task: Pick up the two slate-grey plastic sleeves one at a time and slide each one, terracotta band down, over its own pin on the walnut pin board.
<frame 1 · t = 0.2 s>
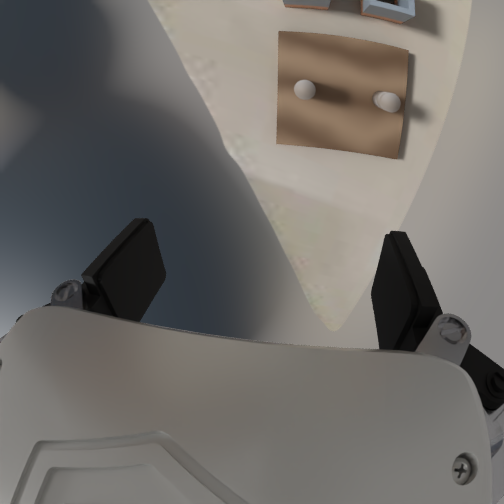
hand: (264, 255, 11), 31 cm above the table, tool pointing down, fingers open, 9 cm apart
pin board: (342, 92, 31), on the table
sleeve b: (380, 2, 22), on the table
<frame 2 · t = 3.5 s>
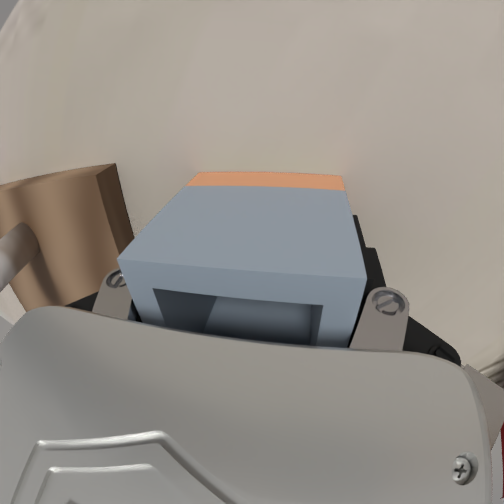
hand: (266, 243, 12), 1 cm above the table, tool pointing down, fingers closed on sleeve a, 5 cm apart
pin board: (67, 284, 18), on the table
sleeve a: (269, 234, 12), on the table, touching gripper
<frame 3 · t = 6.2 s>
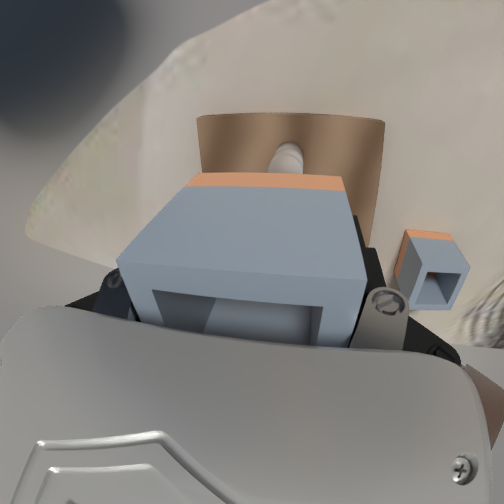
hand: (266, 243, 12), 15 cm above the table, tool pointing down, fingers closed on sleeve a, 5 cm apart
pin board: (290, 200, 27), on the table
sleeve a: (269, 235, 12), point 15 cm above the table, touching gripper
sleeve b: (421, 253, 27), on the table
when the fingers open (4 cm above the table, at t = 9.3 s): sleeve a drops 1 cm, resting on pin board.
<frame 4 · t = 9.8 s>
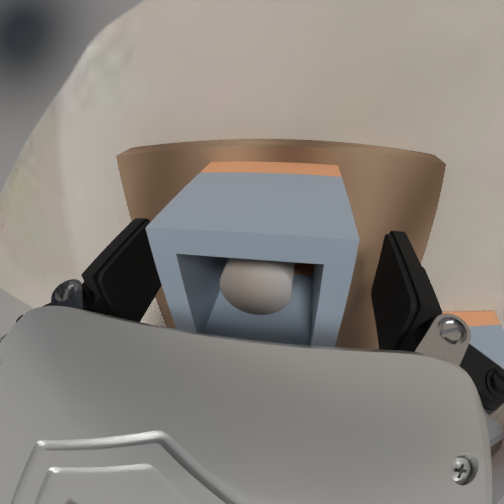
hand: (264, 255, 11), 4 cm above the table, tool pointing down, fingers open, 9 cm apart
pin board: (276, 279, 17), on the table
sleeve a: (273, 218, 13), point 1 cm above the table, touching pin board
sleeve b: (455, 335, 18), on the table
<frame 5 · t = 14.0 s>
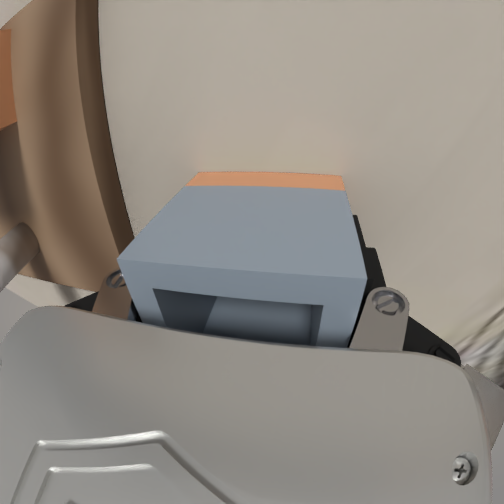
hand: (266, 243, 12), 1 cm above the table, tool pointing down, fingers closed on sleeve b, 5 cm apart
pin board: (20, 157, 12), on the table
sleeve b: (269, 234, 12), on the table, touching gripper
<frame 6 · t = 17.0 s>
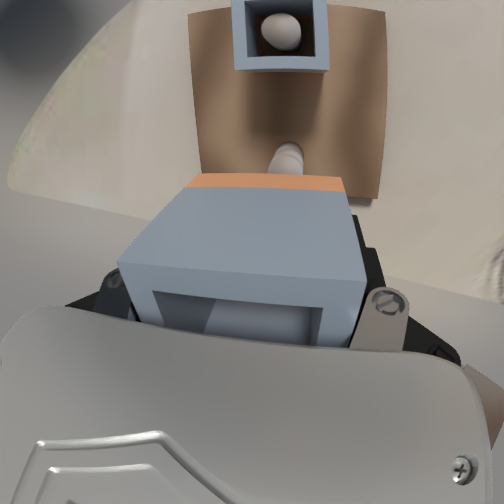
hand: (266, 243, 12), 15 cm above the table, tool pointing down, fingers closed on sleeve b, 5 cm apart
pin board: (290, 96, 21), on the table
sleeve a: (286, 40, 17), point 1 cm above the table, touching pin board
sleeve b: (269, 235, 12), point 15 cm above the table, touching gripper
when the fingers open (4 cm above the table, at t = 20.0 s): sleeve b drops 1 cm, resting on pin board.
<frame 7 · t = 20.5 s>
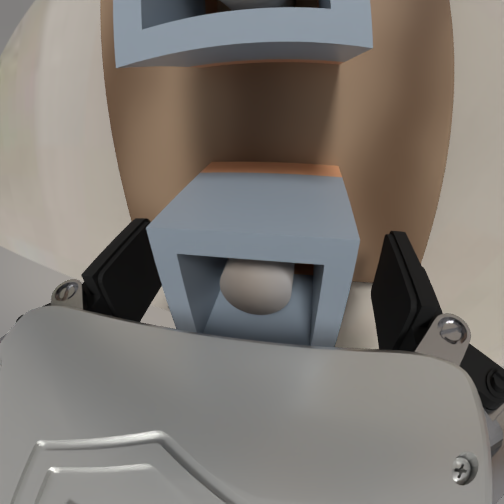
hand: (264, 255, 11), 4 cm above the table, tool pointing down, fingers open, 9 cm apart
pin board: (274, 108, 12), on the table
sleeve a: (265, 2, 8), point 1 cm above the table, touching pin board
sleeve b: (274, 219, 13), point 1 cm above the table, touching pin board
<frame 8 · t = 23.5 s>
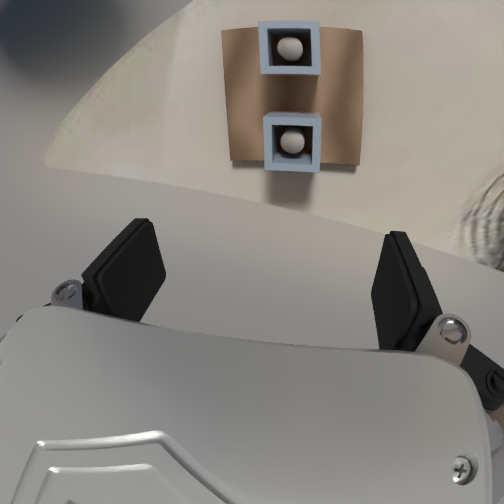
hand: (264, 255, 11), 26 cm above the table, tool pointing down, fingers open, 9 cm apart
pin board: (294, 92, 29), on the table
sleeve a: (292, 53, 25), point 1 cm above the table, touching pin board
sleeve b: (294, 133, 31), point 1 cm above the table, touching pin board
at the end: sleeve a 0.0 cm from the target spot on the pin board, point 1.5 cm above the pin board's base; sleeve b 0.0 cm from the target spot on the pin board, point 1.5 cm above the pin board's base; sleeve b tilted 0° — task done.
